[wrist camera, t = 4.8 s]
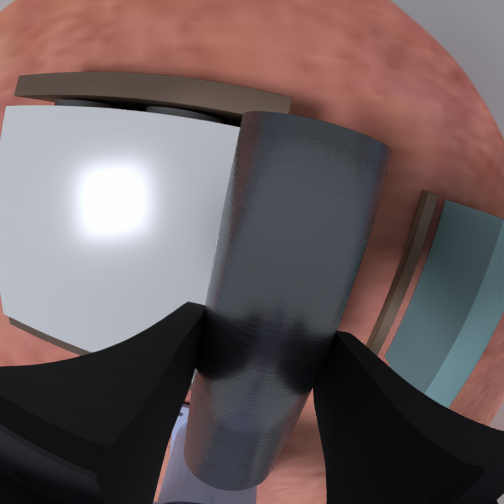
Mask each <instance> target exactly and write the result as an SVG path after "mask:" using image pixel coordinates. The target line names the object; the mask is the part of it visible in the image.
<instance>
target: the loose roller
mask: <svg viewBox="0 0 504 504" xmlns="http://www.w3.org/2000/svg"><path fill="white" fill-rule="evenodd" d="M390 154H391V149H390V148H389V147H388V146H386V145H385V144H383V143H381V142H379V141H377V140H375V139H373V138H371V137H369V136H366V135H364V134H361V133H359V132H356V131H353V130H351V129H348V128H345V127H342V126H338V125H335V124H331V123H328V122H324V121H320V120H316V119H312V118H307V117H302V116H297V115H291V114H285V113H278V112H268V111H249V112H245V113H243V117H242V122H241V126H240V131H239V135H238V140H237V144H236V149H235V153H234V158H233V163H232V167H231V172H230V177H229V182H228V187H227V191H226V196H225V201H224V206H223V211H222V216H221V221H220V226H219V232H218V237H217V242H216V247H215V253H214V258H213V264H212V269H211V275H210V280H209V286H208V291H207V297H206V303H205V313H204V319H203V325H202V331H201V337H200V343H199V350H198V356H197V362H196V368H195V372H194V378H193V385H192V392H191V399H190V406H189V413H188V420H187V428H186V436H185V444H184V459H185V462H186V464H187V466H188V468H189V470H190V471H191V472H192V473H193V475H194V476H196V477H197V478H198V479H199V480H200V481H202V482H203V483H205V484H207V485H209V486H211V487H214V488H217V489H221V490H226V491H241V490H246V489H250V488H253V487H255V486H257V485H258V484H260V483H261V482H263V481H264V480H265V479H266V478H267V477H268V475H269V473H270V472H271V470H272V468H273V466H274V465H275V463H276V461H277V459H278V457H279V455H280V453H281V452H282V450H283V448H284V446H285V444H286V442H287V440H288V438H289V436H290V434H291V432H292V430H293V428H294V426H295V424H296V422H297V420H298V418H299V416H300V414H301V412H302V410H303V408H304V405H305V403H306V401H307V399H308V397H309V395H310V392H311V390H312V388H313V386H314V384H315V381H316V379H317V377H318V374H319V372H320V370H321V368H322V365H323V363H324V360H325V358H326V356H327V353H328V351H329V348H330V346H331V343H332V341H333V338H334V336H335V333H336V331H337V328H338V326H339V323H340V320H341V318H342V315H343V312H344V310H345V307H346V304H347V301H348V299H349V296H350V293H351V290H352V287H353V284H354V282H355V279H356V276H357V273H358V270H359V267H360V264H361V260H362V257H363V254H364V251H365V248H366V245H367V241H368V238H369V235H370V231H371V228H372V224H373V221H374V217H375V214H376V210H377V207H378V203H379V199H380V195H381V192H382V188H383V184H384V180H385V176H386V172H387V167H388V163H389V159H390Z"/></svg>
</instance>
